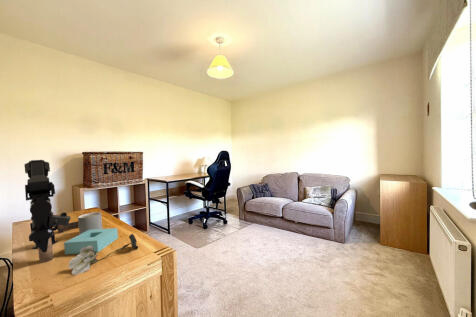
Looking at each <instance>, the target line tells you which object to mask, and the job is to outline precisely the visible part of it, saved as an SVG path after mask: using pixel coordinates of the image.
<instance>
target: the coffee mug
mask: <svg viewBox="0 0 476 317" xmlns="http://www.w3.org/2000/svg"><path fill="white" fill-rule="evenodd" d="M77 219H78V220H77V221H78V223H79V227H78V231H79V233H78V235H80V234H82V233H84V232H86V231H88V230H94V229H103V222H102V220H103V218H102V212H101V211H94V212H88V213H84V214H81V215H79V216H78V217H77Z"/></svg>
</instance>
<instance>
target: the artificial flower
mask: <svg viewBox="0 0 476 317" xmlns="http://www.w3.org/2000/svg"><path fill="white" fill-rule="evenodd" d="M128 238H129V240H130V241H129V243H127V244H125V245H123V246H122V247H120V248H118V249H116V250H114V251H112V252H111V253H108V254H107V255H105V256H104V257H102V258H99V259H97V257H98V253H99V252H95V253H94V249H93V247H92V246H87V247H84V248H82V249H81V251H80V253H79V254H77V255H76V256H75V257H73V258H71V259H70V261H69V262H68V268H69V269H70V270H71V274H72V276H77V275H79V274H83V273H85V272H87V271H89V270H90V269H91V264H96V263H98V262H99V261H102V260H104V259H106V258H107V257H109V256H110V255H112V254H113V253H116V252H118V251H119V250H125V249H126V248H127V247H128V246H130V245H131V246H132V248H133V249H135V250H137V249H139V246H138V245H137V242H138V241H137V239H136V237H135V235H134V234H133V233H131V234H130V235H129V236H128Z"/></svg>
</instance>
